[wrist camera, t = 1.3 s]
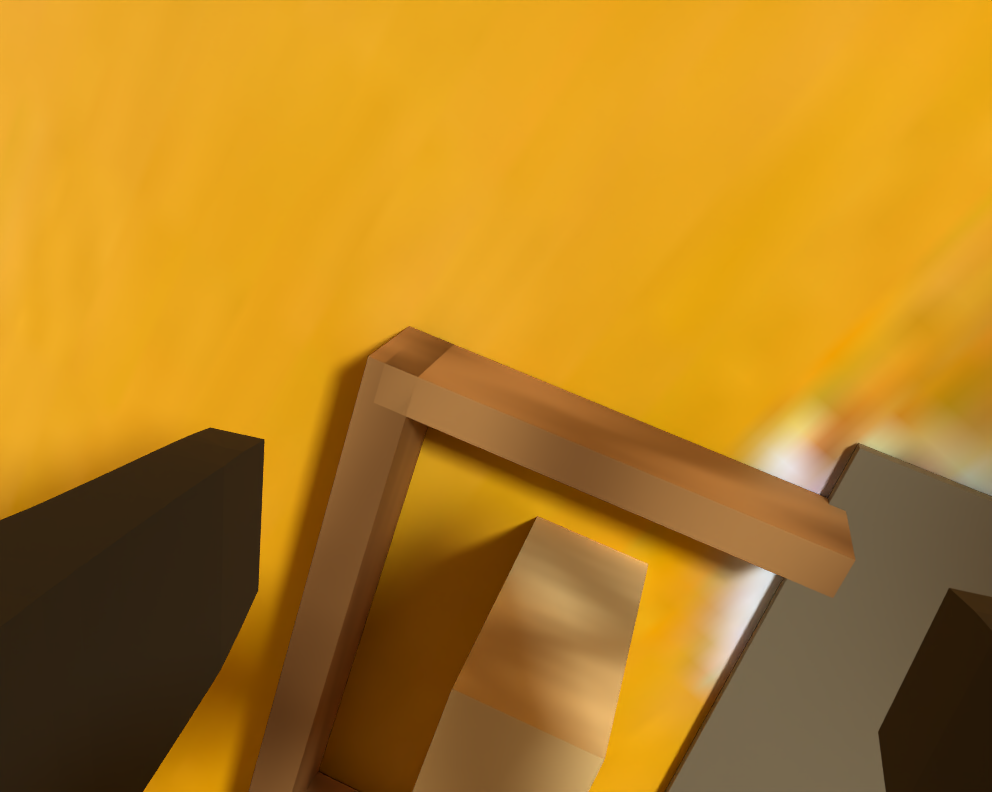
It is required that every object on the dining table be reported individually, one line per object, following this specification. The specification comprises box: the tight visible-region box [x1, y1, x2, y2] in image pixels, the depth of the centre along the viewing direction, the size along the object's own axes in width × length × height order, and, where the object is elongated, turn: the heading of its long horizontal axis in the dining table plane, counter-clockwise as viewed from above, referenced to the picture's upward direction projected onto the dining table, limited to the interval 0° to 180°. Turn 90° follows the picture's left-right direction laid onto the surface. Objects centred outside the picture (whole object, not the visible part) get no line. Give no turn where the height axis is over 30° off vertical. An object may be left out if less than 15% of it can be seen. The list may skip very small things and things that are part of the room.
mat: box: [665, 443, 992, 792], centre depth 21 cm, size 9×12×1 cm
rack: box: [249, 326, 855, 792], centre depth 25 cm, size 11×23×2 cm, turn 162°
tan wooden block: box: [412, 516, 648, 792], centre depth 21 cm, size 3×10×7 cm, turn 162°
